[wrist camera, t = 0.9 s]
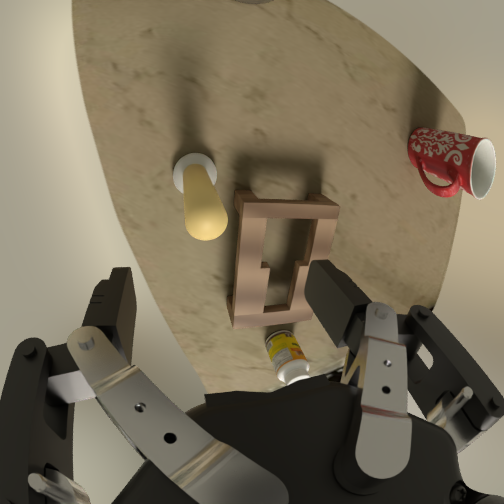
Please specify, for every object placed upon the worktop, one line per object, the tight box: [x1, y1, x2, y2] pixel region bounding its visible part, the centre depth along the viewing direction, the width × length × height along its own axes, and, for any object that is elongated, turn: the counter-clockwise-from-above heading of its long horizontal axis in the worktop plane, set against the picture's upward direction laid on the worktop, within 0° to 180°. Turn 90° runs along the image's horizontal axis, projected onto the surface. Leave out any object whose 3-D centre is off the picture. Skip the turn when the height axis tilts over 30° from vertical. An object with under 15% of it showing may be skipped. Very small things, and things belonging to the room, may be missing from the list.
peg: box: [173, 153, 228, 240], centre depth 24 cm, size 5×5×15 cm
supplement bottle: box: [265, 330, 310, 385], centre depth 43 cm, size 6×6×10 cm
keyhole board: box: [227, 190, 340, 329], centre depth 36 cm, size 18×12×5 cm, turn 174°
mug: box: [408, 128, 496, 200], centre depth 30 cm, size 13×9×14 cm
